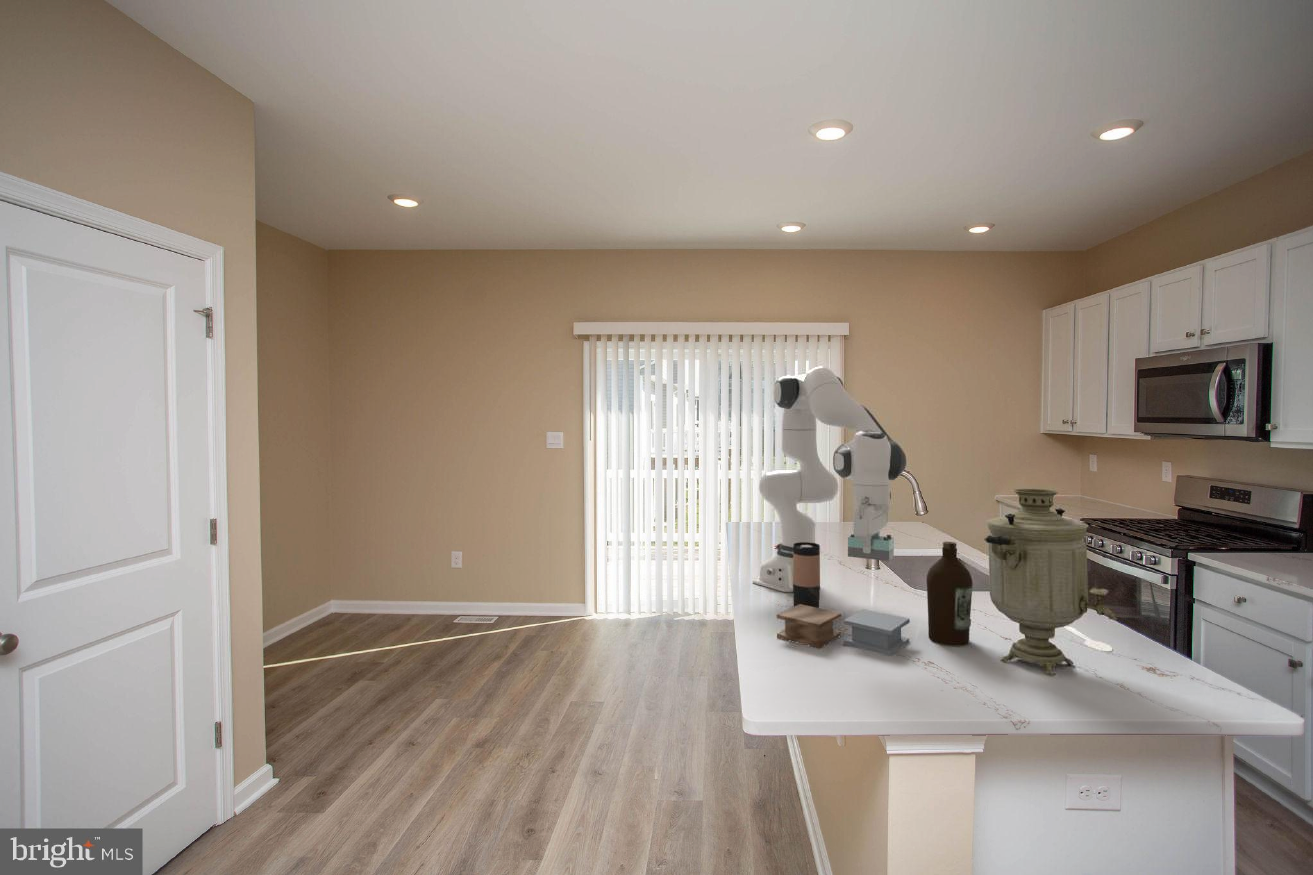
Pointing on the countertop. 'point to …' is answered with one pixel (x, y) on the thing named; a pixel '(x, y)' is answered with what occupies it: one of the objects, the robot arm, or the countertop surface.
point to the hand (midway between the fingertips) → (870, 550)
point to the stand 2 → (876, 631)
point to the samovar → (1039, 575)
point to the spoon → (1090, 641)
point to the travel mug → (806, 574)
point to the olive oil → (949, 599)
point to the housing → (880, 548)
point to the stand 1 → (809, 625)
